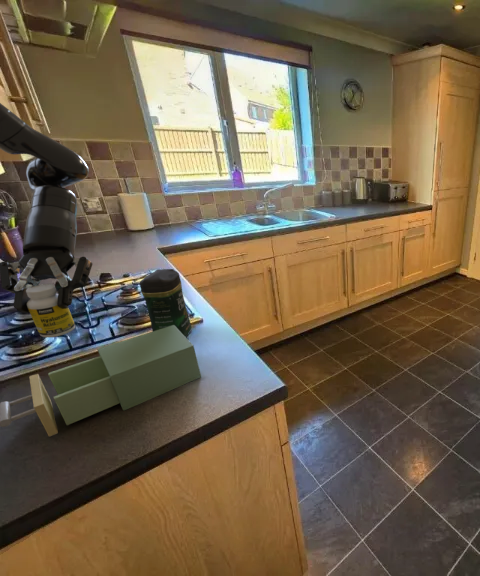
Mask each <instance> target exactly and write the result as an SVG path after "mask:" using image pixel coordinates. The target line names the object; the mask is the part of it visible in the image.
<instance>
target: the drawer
mask: <svg viewBox="0 0 480 576" xmlns="http://www.w3.org/2000/svg"><path fill="white" fill-rule="evenodd" d="M47 374H48V377H49V379H50V381H51V383H52V386H53V387H54V390H55V392H56V394H57V395H55V396H53V400H54V402H55V404H56V406H57V408H58V410H59V412H60V414H61V417H62V419H63V421H64V423H65V425H66V426H69V425H71V424H73V423H76V422H78V421H81V420H83V419H86V418H88V417H90V416H92V415H96V414H97V413H100V412H103V411H104V410H105V411H106V410H107V409H109V408H112V407H114V406H116V405H120V401H119V398H118V396H117V393H116V390H115V388H114V385H113V383H112V380H111V377H110V375H109V373H108V371H107V369H106V367H105V365H104V363H103V361H102V358H101V356H100V355H98V356H96V357H93V358H90V359H87V360H83V361H80V362H77V363H74V364H72V365H69V366H68V365H67V366H65V367H62V368H59V369H56V370H54V371H50V372H48V373H47ZM29 384H30V390H31V394H29V395H25V396H23V397H20V398H18V399H15V400H12V401H6V400H5V401H1V402H0V427H1V428H5V427H8V426H10V425H11V424H12V422H14V421H17V420H20V419H22V418H25V417H27V416H30V415H32V414H35V413H36V415H37V416H38V419H39V421H40V422H41V424H42V425H43V428H44V430H45V432H46V433H47V436H48V437H52V436H55V435H57V434H58V433H59V431H58V425H57V421H56V417H55V412H54V407H53V402H52V400H51V397H50V395H49V393H48V391H47V390H46V387H45V385H44V383H43V381H42V379H41V376H40V374H39V373H36V374H32V375H30V376H29ZM30 400H32V405H33V408H31V409H29V410H25V411H22V412H20V413H18V414H15V415H12V411H11V410H12V409H11V407H13V406H15V405H18V404H21V403H24V402H27V401H30Z"/></svg>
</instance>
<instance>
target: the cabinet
mask: <svg viewBox="0 0 480 576" xmlns="http://www.w3.org/2000/svg"><path fill="white" fill-rule="evenodd" d="M97 352H98V356H101V358H102V361H103V363H104V365H105V367H106V369H107V371H108V373H109V375H110V377H111V380H112V383H113V385H114V388H115V390H116V393H117V396H118V398H119V401H120V403H119V405H120V406H121V409H122V411H126V410H129V409H131V408H134V407H136V406H138V405H140V404H142V403H145V402H147V401H150V400H152V399H155V398H156V397H159V396H161V395H163V394H165V393H168V392H171V391H172V390H175V389H177V388H179V387H182V386H185V385H187V384H188V383H191V382H193V381H196V380H198V379H200V378H202V375H201V370H200V367H199V362H198V359H197V358H198V357H197V353H196V349H195V346H194V344H193V343H192V342H191V341H190V340H189V339H188V338H187V336H186V337H185V336H184V335H183V334H182V333H181V332H180V331H179V330H178V329H177V327H176V326H175V325H172V326H169V327H166V328H163V329H159V330H156V331H150V332H147V333H144V334H141V335H137V336H134V337H131V338H128V339H125V340H121V341H119V342H115V343H112V344H109V345H106V346H103V347H99V348H97Z"/></svg>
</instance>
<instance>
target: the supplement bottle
mask: <svg viewBox="0 0 480 576" xmlns="http://www.w3.org/2000/svg"><path fill="white" fill-rule="evenodd" d="M26 292H27V295H28V297H29V298H31V299H30V300H29V301H28V302H27V307H28V310H29V312H28V313H29V314H30V316H31V318H32V320H33V323H34V325H35V327H36V330H37V332H38V334H39V336H40V337H42V338H56V337H59V336H60V337H61V336H63V335H66V334H69V333H71V332H73V331H74V330H75V328H76V323H75V321H74V317H73V316H72V313H71V311H70V308H69V307H68V308H66V309H62V308H60V307H58V305H57V301H58V290H57V288H56V286H55V284H52V283H44V284H39V285H37V286H33V287H30V288H28V289H27V290H26Z"/></svg>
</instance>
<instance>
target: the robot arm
mask: <svg viewBox="0 0 480 576" xmlns="http://www.w3.org/2000/svg"><path fill="white" fill-rule="evenodd" d="M0 150H1V151H3V152H5V153H7V154H10V155H29V156H32V157H34V158H33V159H31V160H30V161H29V162H28V164H27V166H26V169H25V176H26V179H27V183H28V187H29V190H30V194H31V199H30V205H29V211H28V214H27V217H26V220H25V227H24V234H23V242H22V256H21V258H20V259H18V261H14V262H7V261H1V262H0V284H1V288H2V289H3V290H5V291H6V292H9V293H11V294H14V299H13V308H14V309H15V310H16V311H17V312H19V313H22V314H25V313H26V314H27V313H30V312H29V310H28V307H27V302H28V301H29V300H30V299H31V298H29V297H28V295H27V292H26V290H27V289H28V288H30V287H33V286H37V285H40V284H41V282H42V281H44V280H45V281H46V280H49V279H51V280H57V282H58V285H60V287H59V288H58V290H57V294H58V301H57V305H58V307H60V308H62V309H66V308H69V306H71V305H72V304H73V294H74V291H75V290H76V289H78V288H81V289H83V288H85V287H86V286H87V282H88V280H89V276H90V273H91V270H92V268H93V262H92V261H91V260H90V259H89V258H87V257H86V256H80V257H75V253H76V244H77V234H78V225H77V212H78V198H77V196H76V194H75V193H73V191H71V190H70V189H68V188H66V187H69V186H72V185H75V184H78V183H80V182H82V181H85V180H86V179H87V178H88V176H89V174H90V173H89V172H90V171H89V167H88V165H87V163H86V162H85V160H84V159H83V158H82V157H81V156H80V155H79V154H78V153H77V152H75V151H74V150H72V149H71V148H69V147H67V146H66V145H64V144H62V143H60V142H58V141H56V140H55V139H53V138H51V137H49V136H47V135H46V134H44V133H42V132H40V131H38V130H36V129H34V128H33V127H32V126H30V125H29V124H27V123H26V122H25V121H24V120H23V119H21V118H20V117H19V116H17V114H15V113H14V112H12V110H10V109H9V108H8V107H6V106H5V105H4V104H3V103H1V102H0ZM74 266H75V270H74V274H73V276H72V278H71V276H70V274H69V271H71V269H72V268H73V267H74ZM21 269H23V270H22V272H20V270H21ZM19 274H20V275H19ZM18 275H19V276H18Z"/></svg>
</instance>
